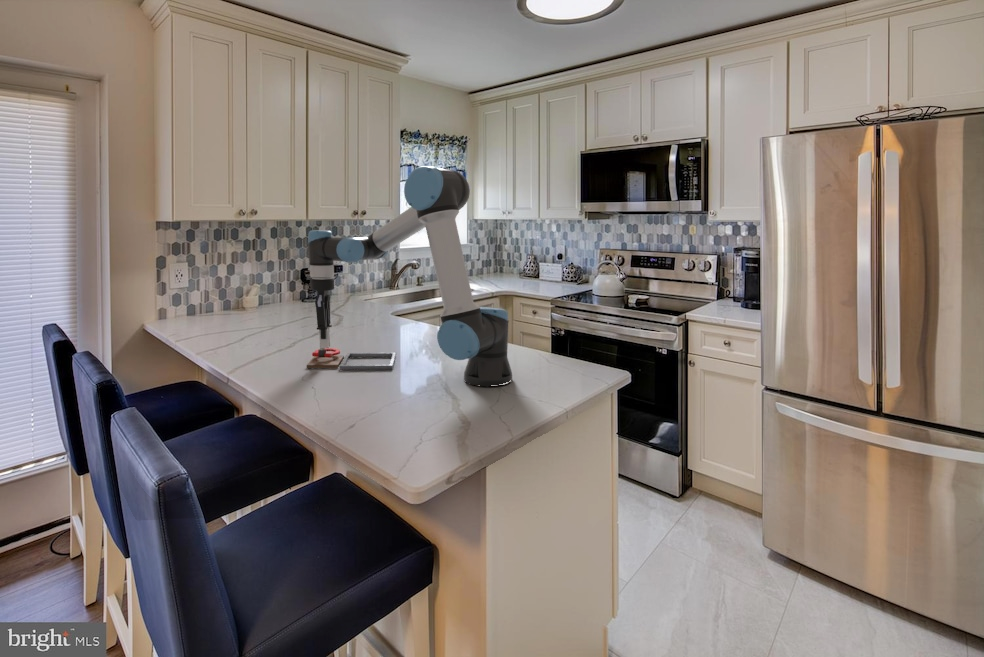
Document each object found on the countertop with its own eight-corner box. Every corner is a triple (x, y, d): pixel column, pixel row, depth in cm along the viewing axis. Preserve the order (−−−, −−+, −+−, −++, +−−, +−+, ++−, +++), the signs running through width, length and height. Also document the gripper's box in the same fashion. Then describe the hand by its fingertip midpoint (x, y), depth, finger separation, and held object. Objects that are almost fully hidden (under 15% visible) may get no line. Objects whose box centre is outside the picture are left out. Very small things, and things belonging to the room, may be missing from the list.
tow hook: (321, 350, 186) (309, 356, 177) (320, 315, 183) (308, 319, 174) (343, 352, 185) (333, 358, 176) (343, 316, 182) (332, 321, 173)
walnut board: (337, 368, 172) (337, 364, 172) (306, 368, 171) (306, 365, 171) (343, 358, 184) (343, 355, 184) (314, 359, 183) (314, 355, 183)
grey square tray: (392, 369, 172) (392, 365, 172) (339, 370, 170) (339, 366, 170) (395, 356, 188) (395, 352, 188) (347, 357, 187) (347, 352, 186)
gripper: (315, 275, 178) (318, 342, 183) (305, 280, 164) (308, 352, 169) (337, 275, 179) (340, 342, 184) (329, 280, 165) (332, 352, 170)
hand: (325, 347), depth 176 cm, fingers closed on tow hook, 2 cm apart
